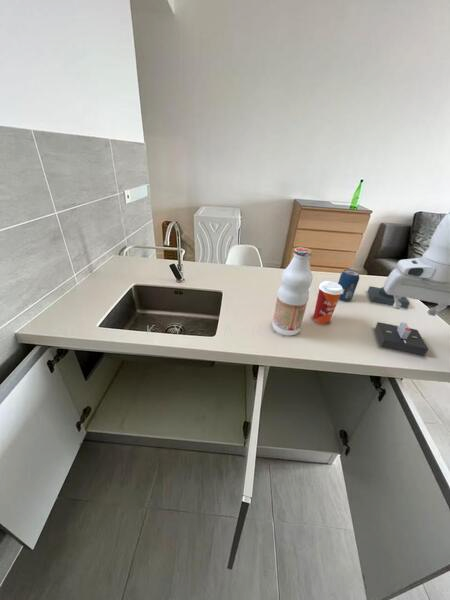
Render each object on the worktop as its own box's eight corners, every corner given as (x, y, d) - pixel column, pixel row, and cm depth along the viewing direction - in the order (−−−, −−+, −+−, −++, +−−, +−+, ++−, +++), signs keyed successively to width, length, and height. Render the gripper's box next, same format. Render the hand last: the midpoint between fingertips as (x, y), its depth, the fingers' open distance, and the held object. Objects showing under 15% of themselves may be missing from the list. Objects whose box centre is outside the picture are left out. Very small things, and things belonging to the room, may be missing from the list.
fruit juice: (273, 335, 80) (289, 254, 65) (270, 318, 88) (284, 243, 73) (302, 337, 79) (324, 256, 65) (296, 320, 87) (315, 245, 73)
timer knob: (396, 329, 80) (401, 321, 79) (402, 330, 80) (406, 322, 78) (400, 338, 77) (405, 329, 75) (406, 339, 76) (411, 330, 75)
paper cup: (320, 327, 85) (331, 292, 77) (306, 315, 90) (315, 282, 83) (337, 322, 87) (349, 288, 80) (322, 311, 93) (332, 279, 86)
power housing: (399, 296, 106) (404, 287, 104) (406, 308, 98) (411, 299, 96) (367, 291, 109) (371, 282, 107) (371, 302, 101) (375, 292, 99)
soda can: (339, 292, 107) (348, 267, 101) (354, 299, 103) (364, 273, 96) (330, 296, 104) (338, 270, 97) (345, 304, 99) (355, 277, 93)
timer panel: (413, 336, 83) (417, 329, 81) (424, 356, 74) (429, 348, 73) (374, 328, 85) (378, 321, 84) (380, 347, 77) (384, 339, 76)
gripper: (475, 272, 67) (448, 313, 74) (392, 259, 72) (375, 299, 79) (488, 281, 62) (458, 324, 69) (398, 267, 66) (379, 309, 74)
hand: (413, 311), depth 74 cm, fingers open, 8 cm apart
